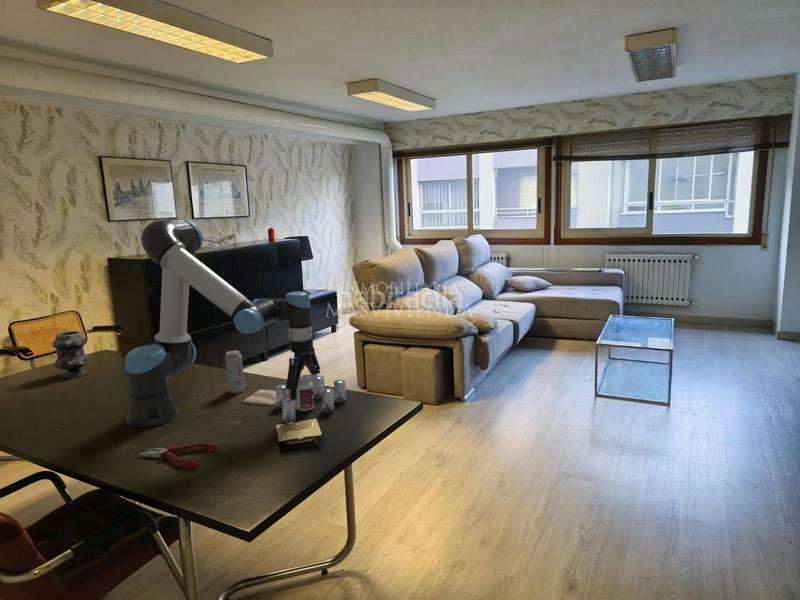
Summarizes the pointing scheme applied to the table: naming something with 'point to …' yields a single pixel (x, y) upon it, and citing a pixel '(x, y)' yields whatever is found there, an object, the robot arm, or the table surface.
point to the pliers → (172, 451)
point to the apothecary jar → (70, 353)
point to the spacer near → (289, 410)
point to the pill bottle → (306, 393)
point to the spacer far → (320, 386)
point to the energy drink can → (234, 371)
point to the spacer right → (327, 399)
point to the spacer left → (281, 394)
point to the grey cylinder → (339, 390)
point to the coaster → (262, 398)
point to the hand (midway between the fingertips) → (305, 399)
